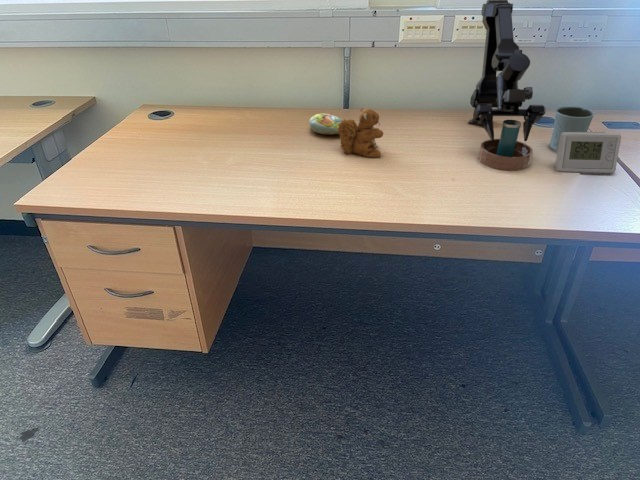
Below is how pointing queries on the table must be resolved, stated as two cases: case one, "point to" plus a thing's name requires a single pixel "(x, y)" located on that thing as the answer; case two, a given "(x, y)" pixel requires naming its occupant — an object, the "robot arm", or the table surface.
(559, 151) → the digital clock
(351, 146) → the stuffed squirrel
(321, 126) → the decorated easter egg
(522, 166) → the bowl
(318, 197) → the table surface
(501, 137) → the tin
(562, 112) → the grey-green cup
